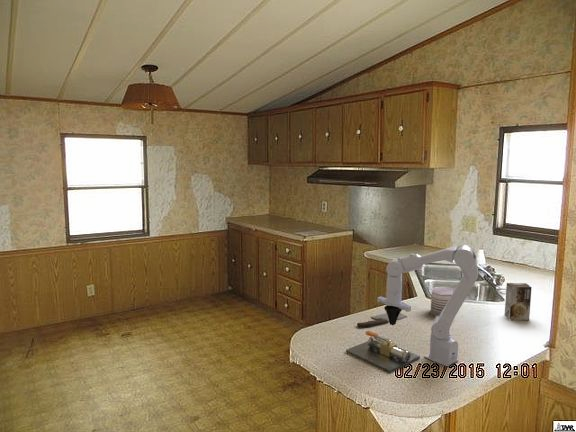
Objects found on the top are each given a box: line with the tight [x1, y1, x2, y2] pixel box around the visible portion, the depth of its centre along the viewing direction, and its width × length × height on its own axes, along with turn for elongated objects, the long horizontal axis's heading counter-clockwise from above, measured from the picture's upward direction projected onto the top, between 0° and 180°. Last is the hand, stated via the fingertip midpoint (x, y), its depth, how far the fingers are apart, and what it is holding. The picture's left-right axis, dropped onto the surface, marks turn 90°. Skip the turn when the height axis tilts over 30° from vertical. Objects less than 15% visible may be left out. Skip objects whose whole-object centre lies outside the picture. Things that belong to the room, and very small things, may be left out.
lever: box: [365, 330, 393, 343], centre depth 168 cm, size 12×2×1 cm, turn 41°
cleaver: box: [356, 312, 408, 329], centre depth 202 cm, size 29×10×2 cm, turn 125°
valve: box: [345, 336, 421, 374], centre depth 166 cm, size 21×18×6 cm
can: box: [430, 286, 456, 317], centre depth 210 cm, size 11×11×12 cm
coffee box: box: [504, 282, 532, 321], centre depth 205 cm, size 9×6×16 cm
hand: (392, 324), depth 170 cm, fingers closed
